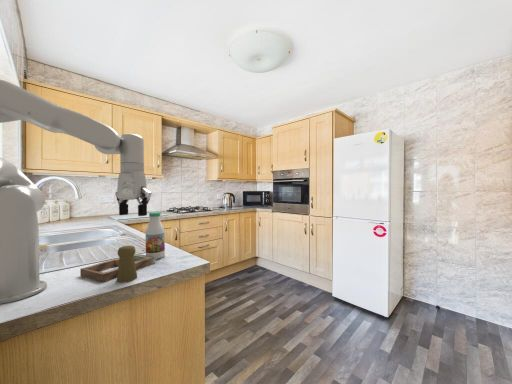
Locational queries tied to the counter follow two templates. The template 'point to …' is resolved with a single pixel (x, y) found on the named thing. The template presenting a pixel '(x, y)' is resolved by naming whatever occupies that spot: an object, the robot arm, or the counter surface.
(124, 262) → the cork
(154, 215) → the milk bottle
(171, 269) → the counter surface
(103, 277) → the keyhole board
